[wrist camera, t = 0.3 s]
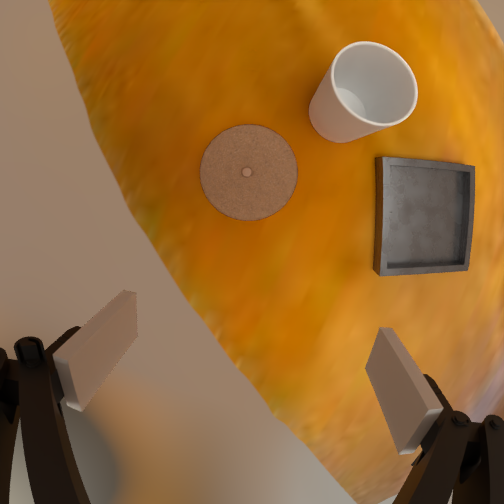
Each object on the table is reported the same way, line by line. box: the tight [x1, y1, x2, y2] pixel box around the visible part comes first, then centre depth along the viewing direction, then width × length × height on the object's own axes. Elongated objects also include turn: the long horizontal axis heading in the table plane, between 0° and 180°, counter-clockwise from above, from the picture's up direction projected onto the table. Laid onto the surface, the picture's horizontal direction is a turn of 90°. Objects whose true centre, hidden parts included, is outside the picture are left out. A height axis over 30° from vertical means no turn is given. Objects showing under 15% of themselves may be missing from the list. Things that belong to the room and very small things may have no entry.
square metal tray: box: [373, 157, 475, 276], centre depth 37 cm, size 16×16×3 cm
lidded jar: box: [200, 124, 298, 221], centre depth 35 cm, size 11×11×9 cm
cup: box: [309, 42, 418, 143], centre depth 29 cm, size 8×8×16 cm
